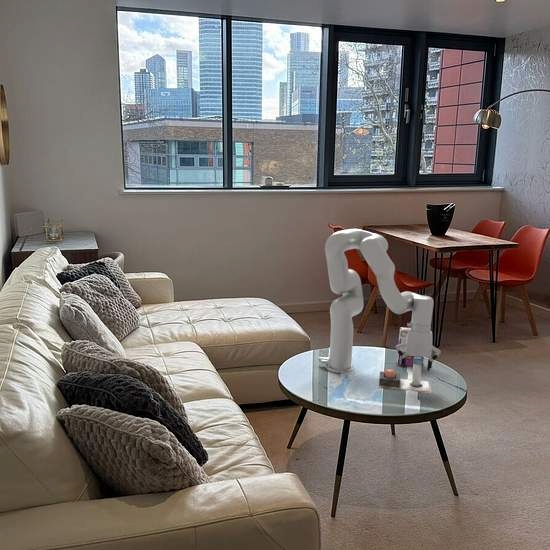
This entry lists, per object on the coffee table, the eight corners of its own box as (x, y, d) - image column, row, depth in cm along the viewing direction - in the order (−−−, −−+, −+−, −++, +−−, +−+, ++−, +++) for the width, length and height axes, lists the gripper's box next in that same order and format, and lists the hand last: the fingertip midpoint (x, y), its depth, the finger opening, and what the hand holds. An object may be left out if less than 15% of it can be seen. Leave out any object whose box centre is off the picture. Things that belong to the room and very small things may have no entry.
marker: (411, 385, 230) (413, 359, 228) (411, 382, 234) (413, 356, 232) (420, 386, 230) (422, 360, 228) (420, 383, 233) (422, 357, 231)
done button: (384, 380, 232) (385, 372, 231) (384, 376, 236) (385, 368, 235) (394, 381, 231) (395, 373, 230) (394, 377, 235) (395, 369, 234)
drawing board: (378, 389, 229) (379, 380, 228) (379, 378, 241) (380, 369, 240) (431, 395, 225) (432, 385, 224) (429, 383, 237) (429, 374, 236)
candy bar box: (397, 365, 257) (400, 330, 254) (396, 361, 262) (399, 326, 258) (423, 367, 256) (426, 331, 253) (421, 363, 261) (424, 328, 257)
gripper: (398, 327, 225) (393, 369, 229) (444, 332, 222) (439, 374, 226) (398, 322, 232) (393, 362, 236) (442, 327, 229) (437, 367, 233)
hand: (415, 368), depth 231 cm, fingers open, 9 cm apart
